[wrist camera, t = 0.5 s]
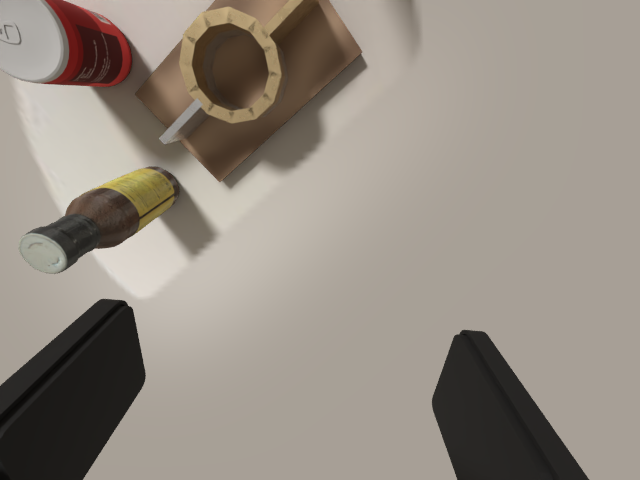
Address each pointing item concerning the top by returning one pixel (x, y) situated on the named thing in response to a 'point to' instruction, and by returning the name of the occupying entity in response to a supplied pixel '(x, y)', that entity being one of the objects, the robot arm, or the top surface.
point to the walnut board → (252, 81)
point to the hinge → (200, 57)
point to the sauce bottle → (100, 219)
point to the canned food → (61, 44)
